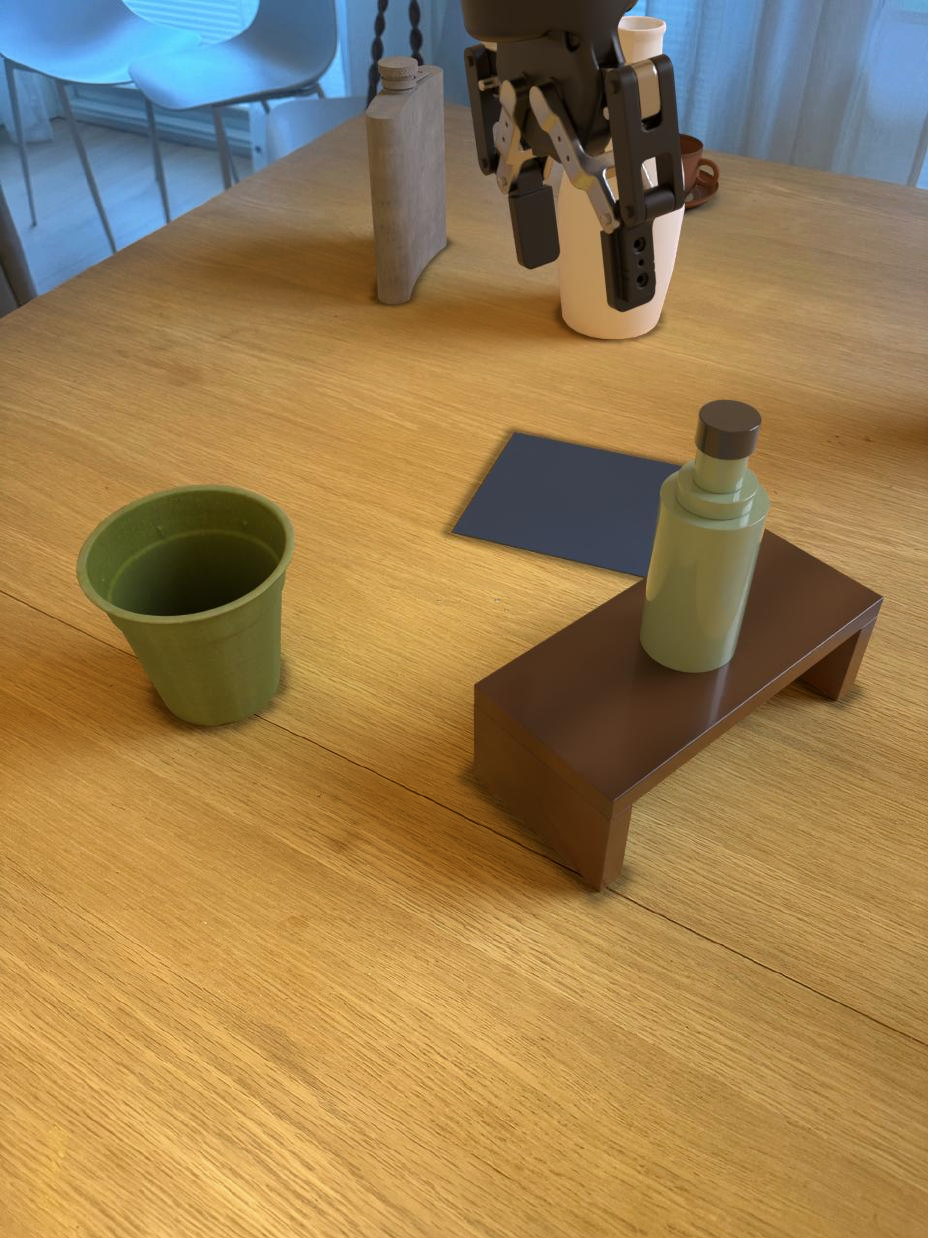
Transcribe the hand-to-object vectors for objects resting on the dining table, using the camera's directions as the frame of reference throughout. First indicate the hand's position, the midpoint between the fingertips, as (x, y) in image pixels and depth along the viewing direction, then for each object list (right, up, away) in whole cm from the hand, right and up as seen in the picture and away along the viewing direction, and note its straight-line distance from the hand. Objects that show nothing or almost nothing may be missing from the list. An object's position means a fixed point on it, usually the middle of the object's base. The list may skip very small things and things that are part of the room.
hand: (582, 283), depth 52 cm
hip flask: (-11, +19, +57) cm, 61 cm away
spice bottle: (+6, -18, +5) cm, 19 cm away
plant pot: (-21, -21, +14) cm, 33 cm away
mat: (+3, -8, +27) cm, 29 cm away
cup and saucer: (+17, +32, +70) cm, 79 cm away
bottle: (+8, +12, +49) cm, 51 cm away
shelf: (+6, -23, +11) cm, 26 cm away
